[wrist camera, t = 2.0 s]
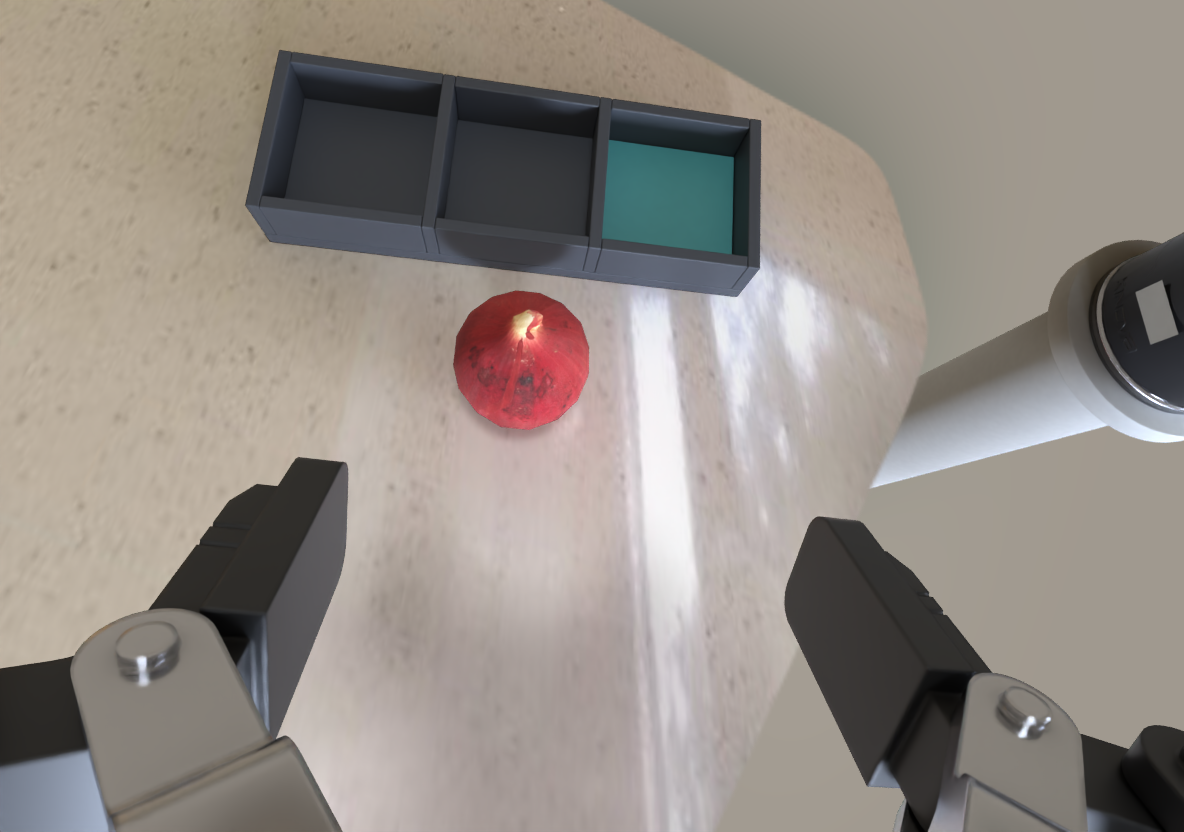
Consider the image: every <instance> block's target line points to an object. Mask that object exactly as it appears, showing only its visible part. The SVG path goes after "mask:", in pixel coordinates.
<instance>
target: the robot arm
mask: <svg viewBox="0 0 1184 832" xmlns="http://www.w3.org/2000/svg"><path fill="white" fill-rule="evenodd" d="M1089 328H1090V333H1091V337H1092V341H1093V344H1094V347H1095V349H1096V352H1097V354H1098V356H1099V358H1100V360H1101V362H1102V363H1103V365H1104V366H1105V368H1106V369H1107V371H1108V372H1109V374H1110V375H1111V376H1112V377H1113V379H1114V380H1115V381H1116V382H1117V383H1118V384H1119V385H1120V386H1121V387H1122V388H1123V389H1124V390H1125V391H1126V392H1128V393H1129V394H1130V395H1131V396H1133V397H1134V398H1136V399H1137V400H1139V401H1140V402H1142V403H1144V404H1146V405H1148V406H1150V407H1152V408H1154V409H1157V410H1160V411H1163V412H1167V413H1172V414H1181V415H1184V233H1182V234H1180V235H1178V236H1176V237H1174V238H1172V239H1170V240H1168V241H1167V242H1165V243H1163V244H1161V245H1159V246H1157V247H1155V248H1153V249H1151V250H1149V251H1147V252H1145V253H1143V254H1141V255H1137V256H1135V257H1132V258H1130V259H1128V260H1126V261H1124V262H1122V263H1120V264H1118V265H1116V266H1115V267H1113V268H1112V269H1110V270H1109V271H1108V272H1107V273H1105V274H1104V275H1103V277H1102V278H1101V279H1100V280H1099V282H1098V283H1097V285H1096V287H1095V289H1094V291H1093V293H1092V296H1091V300H1090V305H1089ZM347 501H348V466H347V464H346V463H345V462H337V461H328V460H319V459H311V458H302V457H298V458H296V459H295V461H294V462H293V463H292V465H291V467H290V468H289V470H288V471H287V473H286V474H285V476H284V477H283V479H282V481H281V482H280V484H279V485H278V486H270V485H261V484H256V485H254V486H253V487H251V488H250V489H248V490H246V491H245V492H243V493H241V494H240V495H238V496H236V497H235V498H233V499H231V500H230V501H229V502H228V503H227V504H226V506H225V507H224V508H223V510H222V511H221V513H220V514H219V515H218V517H217V518H216V519H215V521H214V522H213V526H212V527H211V526H210V527H209V529H208V530H207V531H206V533H205V534H204V535H203V537H202V538H201V539H200V544H199V545H196V546H195V548H194V549H193V550H192V552H191V553H190V554H189V556H188V557H187V558H186V560H185V561H184V562H183V564H182V565H181V566H180V568H179V569H178V571H177V572H176V573H175V575H174V576H173V577H172V579H171V580H170V581H169V583H168V584H167V585H166V587H165V588H164V589H163V591H162V592H161V593H160V595H159V596H158V598H157V599H156V600H155V602H154V603H153V604H152V606H151V607H150V608H149V610H147V611H143V612H139V613H135V614H131V615H129V616H126V617H123V618H120V619H118V620H116V621H114V622H112V623H110V624H108V625H106V626H105V627H103V628H101V629H99V630H98V631H97V632H95V633H94V634H93V635H91V636H90V637H89V638H88V639H87V640H86V641H85V642H84V643H83V644H82V645H81V646H80V648H79V649H78V650H77V652H76V653H75V655H74V656H72V657H68V658H64V659H58V660H53V661H47V662H41V663H34V664H27V665H21V666H14V667H8V668H1V669H0V832H342V830H341V828H340V826H339V824H338V822H337V820H336V818H335V816H334V815H333V813H332V811H331V809H330V807H329V805H328V803H327V801H326V800H325V798H324V796H323V794H322V792H321V790H320V788H319V786H318V784H317V783H316V781H315V779H314V777H313V775H312V773H311V771H310V769H309V767H308V766H307V764H306V762H305V760H304V758H303V756H302V754H301V753H300V751H299V749H298V747H297V746H296V745H295V743H294V742H293V741H292V740H291V739H290V738H289V737H288V736H282V737H280V738H278V739H276V737H277V735H278V732H279V730H280V727H281V725H282V722H283V720H284V717H285V715H286V712H287V710H288V707H289V705H290V702H291V700H292V697H293V695H294V692H295V689H296V687H297V684H298V682H299V679H300V677H301V674H302V672H303V669H304V667H305V664H306V662H307V659H308V657H309V654H310V652H311V649H312V647H313V644H314V642H315V639H316V637H317V634H318V632H319V629H320V626H321V624H322V621H323V619H324V616H325V614H326V611H327V609H328V606H329V604H330V601H331V599H332V596H333V594H334V591H335V589H336V586H337V584H338V581H339V578H340V575H341V571H342V567H343V562H344V556H345V549H346V532H347ZM785 612H786V617H787V620H788V622H789V625H790V627H791V629H792V631H793V633H794V635H795V637H796V639H797V641H798V643H799V645H800V648H801V650H802V652H803V654H804V656H805V658H806V660H807V662H808V664H809V666H810V668H811V671H812V672H813V675H814V677H815V679H816V681H817V683H818V685H819V687H820V689H821V691H822V693H823V695H824V698H825V700H826V702H827V704H828V706H829V708H830V710H831V712H832V714H833V716H834V718H835V721H836V722H837V724H838V727H839V729H840V731H841V733H842V735H843V737H844V739H845V741H846V743H847V746H848V747H849V750H850V752H851V754H852V756H853V758H854V760H855V762H856V764H857V766H858V768H859V770H860V773H861V775H862V777H863V779H864V781H865V783H866V785H867V786H868V787H869V786H870V787H889V788H901V790H902V792H903V794H904V796H905V799H904V801H903V803H902V805H901V806H900V808H899V810H898V813H897V815H896V819H895V824H894V828H893V832H1184V731H1181V730H1178V729H1175V728H1172V727H1167V726H1160V725H1153V726H1148V727H1146V728H1144V729H1143V731H1142V732H1141V733H1140V735H1139V736H1138V737H1137V739H1136V740H1135V742H1134V743H1133V744H1132V746H1131V747H1130V748H1129V749H1126V748H1123V747H1120V746H1117V745H1114V744H1111V743H1108V742H1105V741H1102V740H1099V739H1095V738H1092V737H1089V736H1086V735H1083V734H1080V733H1079V731H1078V728H1077V727H1076V725H1075V724H1074V722H1073V721H1072V719H1071V718H1070V717H1069V716H1068V714H1067V713H1066V712H1065V711H1064V710H1063V709H1062V708H1060V706H1059V705H1057V704H1056V703H1055V702H1054V701H1053V700H1052V699H1050V698H1049V697H1047V696H1046V695H1045V694H1043V693H1042V692H1040V691H1039V690H1037V689H1035V688H1034V687H1032V686H1030V685H1028V684H1026V683H1024V682H1022V681H1020V680H1017V679H1015V678H1012V677H1009V676H1006V675H1002V674H997V673H992V672H991V671H990V669H989V668H988V667H987V666H986V664H985V663H984V662H983V660H982V659H981V658H980V657H979V655H978V654H977V653H976V652H975V650H974V649H973V648H972V646H971V645H970V644H969V643H968V641H967V640H966V639H965V638H964V636H963V635H962V634H961V633H960V631H959V630H958V629H957V627H956V626H955V625H954V624H953V623H952V621H951V620H950V619H949V617H948V616H947V615H943V610H942V608H941V607H940V606H939V605H938V603H937V602H936V601H935V599H934V598H933V597H929V592H928V591H927V589H926V588H925V587H924V586H923V584H922V583H921V582H920V581H919V579H918V578H917V577H916V576H915V574H914V573H913V572H912V571H911V570H910V569H909V568H907V567H906V566H905V565H903V564H902V563H901V562H899V561H898V560H897V559H896V558H894V557H893V556H892V555H891V554H889V553H888V552H886V551H884V550H883V549H882V547H881V546H880V545H879V543H878V542H877V541H876V539H875V538H874V537H873V535H872V534H871V533H870V531H869V530H868V529H867V528H866V526H865V525H864V524H863V523H861V522H860V521H856V520H847V519H838V518H829V517H816V518H814V519H813V520H812V522H811V523H810V525H809V527H808V529H807V532H806V534H805V537H804V540H803V543H802V545H801V548H800V551H799V553H798V556H797V559H796V561H795V564H794V567H793V570H792V572H791V575H790V578H789V580H788V583H787V586H786V591H785Z"/></svg>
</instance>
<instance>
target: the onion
mask: <svg viewBox="0 0 1184 832" xmlns="http://www.w3.org/2000/svg"><path fill="white" fill-rule="evenodd" d="M453 366H454V370H455V374H456V379H457V383H458V387H459V389H460V391H461V392H462V393H463V395H464V396H465V397H466V399H467V400H468V401H469V403H470V404H471V405H472V407H473V408H474V409H475V410H476V411H477V413H479V414H481V415H482V416H484V417H485V418H487V419H489V420H490V421H492V422H494V423H495V424H497V425H499V426H500V427H507V428H516V429H526V430H529V429H532V428H535V427H538V426H541V425H544V424H546V423H549V422H552V421H555V420H557V419H559V418H560V417H561V416H562V415H563V414H564V413H565V412H566V411H567V410H568V409H569V408H570V407H571V406H572V405H573V404H574V403H575V402H576V401H577V400H578V398H579V395H580V393H581V391H582V389H583V386H584V384H585V382H586V380H587V378H588V374H589V346H588V343H587V340H586V337H585V334H584V330H583V327H582V324H581V322H580V321H579V320H578V319H577V318H576V317H575V316H574V315H573V314H572V313H571V312H570V311H569V310H568V309H567V308H566V307H565V306H564V305H563V304H562V303H560V302H558V301H556V300H554V299H551V298H549V297H547V296H545V295H543V294H541V293H534V292H525V291H513V292H509V293H505V294H501V295H497V296H494V297H491V298H490V299H488V300H487V301H486V302H484V303H483V304H481V305H480V306H479V307H477V308H476V309H474V310H473V311H472V312H471V313H470V314H469V315H468V317H467V319H466V320H465V322H464V324H463V326H462V327H461V329H460V331H459V333H458V335H457V337H456V346H455V355H454V363H453Z"/></svg>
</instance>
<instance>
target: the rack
mask: <svg viewBox="0 0 1184 832" xmlns="http://www.w3.org/2000/svg"><path fill="white" fill-rule="evenodd" d="M760 187H761V120H755V119H750V120H749V119H747V118H741V117H734V116H727V115H720V114H713V113H706V112H699V111H693V110H686V109H679V108H672V107H665V106H658V105H651V104H645V103H638V102H631V101H624V100H617V99H613V100H612V99H610V98H604V97H601V98H600V97H597V96H590V95H583V94H576V93H569V92H562V91H556V90H549V89H542V88H535V87H528V86H521V85H515V84H508V83H501V82H494V81H487V80H480V79H473V78H467V77H460V76H457V77H455V76H453V75H446V74H444V75H443V74H441V73H434V72H427V71H420V70H413V69H407V68H400V67H393V66H386V65H379V64H372V63H365V62H359V61H352V60H345V59H338V58H331V57H324V56H318V55H311V54H304V53H297V52H289V51H282V50H279V54H278V58H277V63H276V67H275V72H274V76H273V81H272V86H271V90H270V95H269V99H268V104H267V108H266V113H265V117H264V122H263V126H262V131H261V136H260V140H259V145H258V149H257V154H256V158H255V163H254V167H253V172H252V177H251V181H250V186H249V190H248V195H247V199H246V204H245V206H246V207H247V209H248V210H249V212H250V213H251V214H252V216H253V217H254V219H255V220H256V222H257V223H258V225H259V226H260V228H261V229H262V230H263V232H264V233H265V235H266V236H267V238H268V239H269V241H271V242H279V243H288V244H296V245H305V246H313V247H321V248H330V249H338V250H347V251H355V252H364V253H372V254H381V255H389V256H397V257H406V258H414V259H423V260H431V261H440V262H448V263H457V264H465V265H473V266H482V267H490V268H499V269H507V270H516V271H524V272H533V273H541V274H549V275H558V276H566V277H575V278H583V279H592V280H600V281H608V282H617V283H625V284H634V285H642V286H651V287H659V288H668V289H676V290H684V291H693V292H701V293H710V294H718V295H727V296H735V297H737V296H738V295H739V294H740V293H741V291H742V290H743V289H744V288H745V286H746V285H747V284H748V283H749V281H750V280H751V279H752V278H753V276H754V275H755V274H756V273H757V271H758V270H759V269H760Z"/></svg>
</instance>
